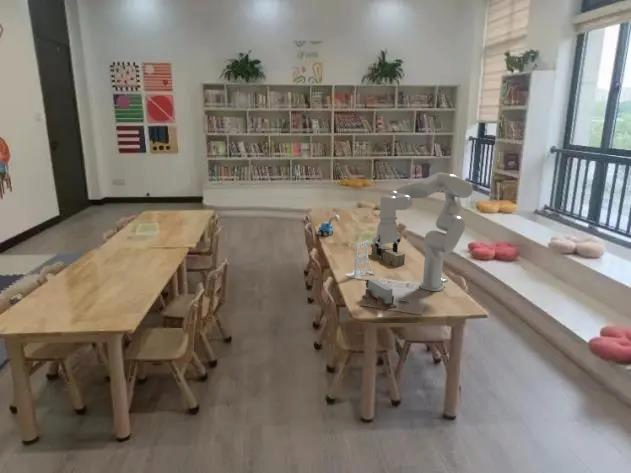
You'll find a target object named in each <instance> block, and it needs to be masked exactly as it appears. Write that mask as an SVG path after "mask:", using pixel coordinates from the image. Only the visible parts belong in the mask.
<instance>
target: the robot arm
mask: <svg viewBox="0 0 631 473" xmlns="http://www.w3.org/2000/svg"><path fill="white" fill-rule="evenodd" d="M440 190H443V194H444V196H445V202H444V205H443V207H442V209H441V211H440V213H439V215H438V217H437V219H436V222H435V226H436V228H437V229H439V230H441V231H439V230H430V231H428V232H427V233H426V234H425V235H424V239H423V240H424V248H425V249H424V253H425V254H424V264H423V265H424V266H423V276H422V278H423V279H422V282H420V283H419V288H421V289H422V288H423V290H424V289H425V291H429V292H440V291H443V290H444V285H443V284H447V283H449V280H448V278H445V279H443V278H442V276H443V266H444V265H443V264H444V254H450V253H452V252H453V251H454V250H455V248H456V246H457V245H458V243H459V241H460V239H461V237H462V235H463V234H464V230H465V228H466V222H465V219H464V218H463V217H462V216H460V215H459V213H460V210H461V209H462V208H461V207H462V203H461V199H468V198H469V197H471V195H472V194H473V192H474V190H473V185H472V183H470V182H469V181H467V180H465V179H463V178H461V177H459V176H457V175H455V174H452V173H447V172H446V173H445V172H441V171H440V172H436V173H434V174H431V175H429V176H427V177H426V178H425V179H422V180H420V181H418V182H415V183H414V182H413V183H411V184H407V185H404V186H403V185H402V186H400V187H397V188H395V189H393V190H392V191H390V192H389V193H388V194H385V195H381V197H380V203H379V204H380V205H379V206H380V209H379V210H380V214H379V223H378V224H377V230H376V236H375V237H374V238H373V239H372V244H373V243H374V245H375V246H376V247H377V255H379V256H381V254H382V248H381V246H382V245H383V244H384V245H386V244H392V248H393V252H396V253H397V251H399V250H398V246H399V245H400V242H401V240H402V238H403V235H402V234H400V233H398V224H397V222H396V220H398V217H397V216H396V212H397V210H399V211H403V210H404V211H405V210H408V209H410V208H411V207H412V205H413V199H422V198H427V197H429V196H431V195H433V194H434V193H436V192H438V191H440ZM458 215H459V216H458ZM442 231H443V232H442ZM444 232H446V233H444Z"/></svg>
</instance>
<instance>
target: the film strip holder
mask: <svg viewBox="0 0 631 473" xmlns="http://www.w3.org/2000/svg"><path fill="white" fill-rule="evenodd" d="M362 248H366V250H365V252H364V253H361V254H359V251H360V249H362ZM368 253H369V240H368V239H367V240H365V241H363V242H360V243H358V244H355V248H354V257H355V258H354V262H353V263H354V264H353V266H354V269H353V270H352V271H351V272H348V273H345V274H344V275H345V276H344V277H348V278H353V279H355V280H359V281H361V280H362V281H365V280H366V278H365V276H364V275H365V274H369V275H372V276H376V273H374V271H373V267H372V265H371V262H370V259H369V255H368ZM362 264H365V266H364V268H363V269H362V268H361V267H360V266H361V265H362ZM368 265H369V267H370V270H371V271H370V270H368ZM358 268H359V269H358Z"/></svg>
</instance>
